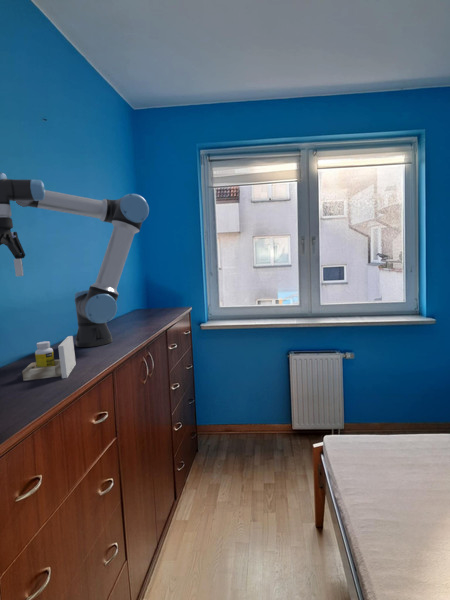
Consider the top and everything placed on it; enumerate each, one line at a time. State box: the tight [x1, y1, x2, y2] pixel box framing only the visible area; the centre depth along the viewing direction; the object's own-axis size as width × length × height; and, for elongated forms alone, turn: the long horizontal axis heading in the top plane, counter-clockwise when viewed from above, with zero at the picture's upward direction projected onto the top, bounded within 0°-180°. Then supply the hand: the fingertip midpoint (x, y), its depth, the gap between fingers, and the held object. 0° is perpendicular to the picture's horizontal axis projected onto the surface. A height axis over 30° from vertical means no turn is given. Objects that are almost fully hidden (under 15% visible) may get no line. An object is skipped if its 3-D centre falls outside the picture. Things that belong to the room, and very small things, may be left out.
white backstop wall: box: [58, 335, 77, 379], centre depth 139 cm, size 2×18×10 cm, turn 11°
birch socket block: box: [22, 358, 62, 381], centre depth 138 cm, size 12×12×3 cm
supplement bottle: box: [34, 340, 55, 368], centre depth 138 cm, size 5×5×10 cm
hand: (8, 277), depth 154 cm, fingers open, 13 cm apart
